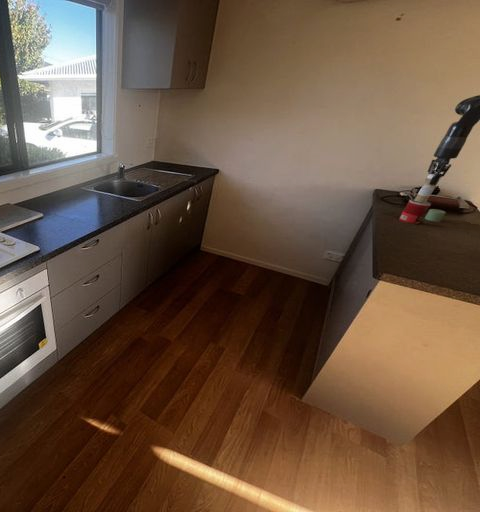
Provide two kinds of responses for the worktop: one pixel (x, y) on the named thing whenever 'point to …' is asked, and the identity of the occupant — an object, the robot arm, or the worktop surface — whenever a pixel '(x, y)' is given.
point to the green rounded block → (435, 215)
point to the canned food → (414, 212)
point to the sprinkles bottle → (426, 190)
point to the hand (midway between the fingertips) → (430, 183)
